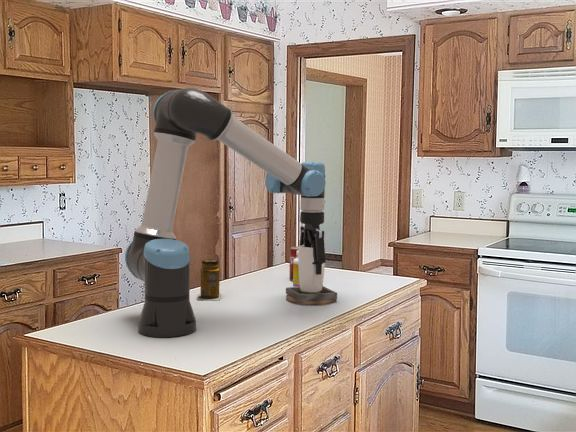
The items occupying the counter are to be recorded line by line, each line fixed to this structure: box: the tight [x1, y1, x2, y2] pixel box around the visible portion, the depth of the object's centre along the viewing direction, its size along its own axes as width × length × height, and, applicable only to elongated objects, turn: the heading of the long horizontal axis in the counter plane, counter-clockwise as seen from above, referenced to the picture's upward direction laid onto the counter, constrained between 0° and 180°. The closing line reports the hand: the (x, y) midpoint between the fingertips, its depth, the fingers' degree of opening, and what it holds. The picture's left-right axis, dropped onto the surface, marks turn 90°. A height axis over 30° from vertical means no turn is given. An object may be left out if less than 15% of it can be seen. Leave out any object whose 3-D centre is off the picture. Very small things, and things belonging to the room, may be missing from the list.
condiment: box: [196, 258, 222, 301], centre depth 218 cm, size 7×8×12 cm
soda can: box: [288, 245, 299, 282], centre depth 247 cm, size 7×7×12 cm
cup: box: [297, 245, 326, 294], centre depth 216 cm, size 7×7×15 cm
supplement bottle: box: [292, 251, 300, 287], centre depth 233 cm, size 7×7×13 cm
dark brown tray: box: [285, 286, 338, 306], centre depth 217 cm, size 16×16×3 cm
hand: (311, 281), depth 216 cm, fingers closed on cup, 9 cm apart
